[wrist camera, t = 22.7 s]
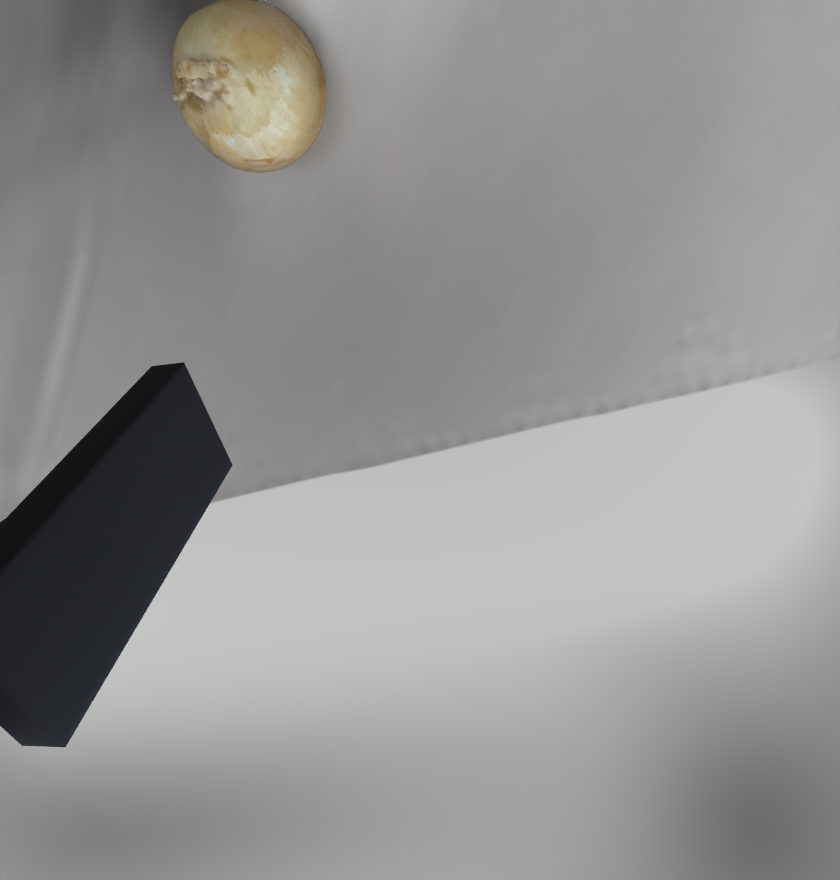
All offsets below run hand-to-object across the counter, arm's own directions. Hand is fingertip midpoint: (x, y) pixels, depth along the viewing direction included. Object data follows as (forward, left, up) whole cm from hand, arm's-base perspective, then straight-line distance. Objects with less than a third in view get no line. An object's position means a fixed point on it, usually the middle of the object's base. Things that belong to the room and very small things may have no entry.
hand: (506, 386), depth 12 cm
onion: (-14, -6, -28) cm, 32 cm away
